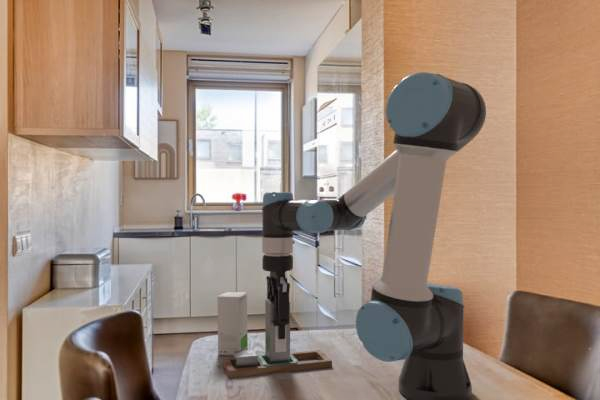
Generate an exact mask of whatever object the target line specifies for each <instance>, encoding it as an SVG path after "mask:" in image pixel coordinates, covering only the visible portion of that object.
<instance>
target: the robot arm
mask: <svg viewBox="0 0 600 400" xmlns="http://www.w3.org/2000/svg"><path fill="white" fill-rule="evenodd" d="M486 108H487V107H486V103H485V100H484V98H483V96H482V95H481V93H480V92H479V90H477V89H476V88H475V87H473V86H471V85H469V84H468V83H464V82H460V81H456V80H454V79H452V78H449V77H446V76H444V75H441V74H439V73H432V72H423V71H420V72H415V73H411V74H409V75H407V76H406V77H404V78H402V80H400V82H399V83H397V84H396V85H395V86H394V87H393V89H392V90H391V92H390V93H389V96H388V98H387V101H386V106H385V118H386V121H387V123H389V127H390V128H391V130H392V131H393V132H394V136H393V143H392V146H393V148H394V149H395V150H394V151H393V152H392V153H391V154H389V155H388V156H387V157H386V158H385V159H383V160H382V161H381V162H380V163H379V164H378V165H377V166H375V167H374V168H373V169H372V170H371V171H370V172H368V173H367V174H365V176H363V177H362V178H361V179H359V181H357V182H356V183H355V184H354V185H353V186H352V187H350V188H349V189H348V190H347V191H345V193H343V194H342V195H341V196H340V197H338V198H337V199H296V200H295V199H294V195H293V193H292V192H290V191H266V192H265V193H264V194H263V196H262V207H261V210H262V212H261V213H262V237H261V240H262V241H261V243H262V244H261V245H262V248H261V249H262V254H263V256H262V270H263V271H265V272H269V275H266V299H275V312H276V323H273V326H275V353H276V352H286V325H287V324H289V302H290V288H291V284H290V282H288V277H286V272H290V271H292V270H293V267H294V256H293V254H292V253H293V250H294V248H293V247H294V246H293V245H294V244H295V240H294V238H293V237H294V232H299V233H300V232H301V233H309V234H319V233H320V234H321V233H322V234H323V233H325V232H330V231H351V230H354V229H355V230H357V229H359V228H361V227H362V226H363V225H364V224H365V220H366V219H367V215H369V214H370V213H371V212H372V211H374V210H375V209H376V208H378V207H379V206H380V205H381V204H383V203H384V202H386V201H387V200H388V199H389V198H391V197H392V196H393V199H392V206H391V212H390V219H389V226H388V234H387V240H386V246H385V253H384V259H383V260H384V261H383V266H382V273H381V274H382V275H381V277H380V278H378V279H377V280H376V281H374V282H373V283H372V288H371V295H370V300H368V301H366V302H365V303H364V304H363V305H362V306H360V307H359V309H358V310H357V313H356V317H355V330H356V334H357V336H358V337H357V338H358V339H359V341H360V342H361V344H362V345H363V348H364V349H365V350H366V352H368V353H369V354H370V355H371V356H372V357H373V358H375V359H377V360H379V361H381V362H385V363H393V362H397V361H403V360H404V361H403V364H402V368H401V372H400V374H399V376H398V392H399V393H400V394H401V395H402V396H404V397H405V398H407V399H408V400H471V399H472V396H473V392H472V391H473V390H472V389H473V387H472V386H473V385H472V382H471V379H470V376H469V373H468V370H467V366H466V364H465V361H464V308H465V304H464V294H463V291H462V290H461V289H460V288H458V287H454V286H450V285H442V284H436V283H433V284H432V283H428V278H429V272H430V266H431V259H432V252H433V247H434V241H435V235H436V229H437V223H438V217H439V216H438V215H439V210H440V205H441V203H440V202H441V197H442V190H443V186H444V185H443V184H444V179H445V172H446V166H447V161H448V160H449V159H450V158H451V157H453V156H454V155H456V154H457V153H458V152H459V151H460V150H462V149H463V148H464V147H465V146H467V145H468V144H469V143H470V142H472V141H473V139H475V138H476V137H477V136H478V134H479V133H480V132H481V131H482V128H483V127H484V124H485V122H486V118H487V117H486V116H487V109H486Z"/></svg>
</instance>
